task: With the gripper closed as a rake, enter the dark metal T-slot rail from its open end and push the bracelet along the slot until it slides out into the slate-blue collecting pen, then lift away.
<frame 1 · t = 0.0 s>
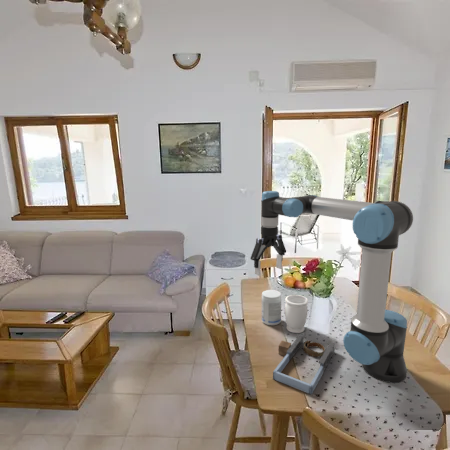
hand: (268, 271, 146), 28 cm above the table, fingers open, 13 cm apart
supplement tub: (271, 321, 157), on the table
tray: (298, 376, 117), on the table
jar: (295, 329, 150), on the table
bracelet: (314, 352, 133), on the table
brown wooden cube: (284, 352, 132), on the table
slot rail: (310, 355, 129), on the table
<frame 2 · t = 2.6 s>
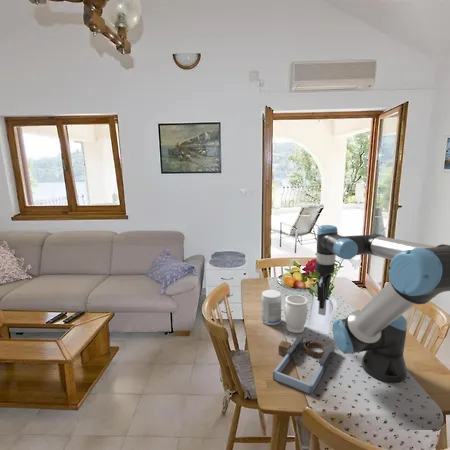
hand: (321, 314, 137), 13 cm above the table, fingers closed
nothing on the table moved.
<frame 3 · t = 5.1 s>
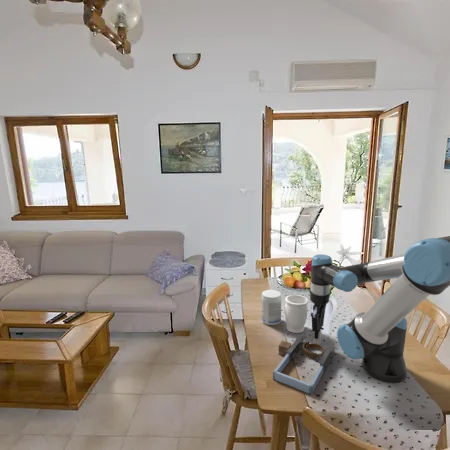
hand: (316, 343, 135), 1 cm above the table, fingers closed
bracelet: (312, 353, 131), on the table, touching gripper
everything else where it was.
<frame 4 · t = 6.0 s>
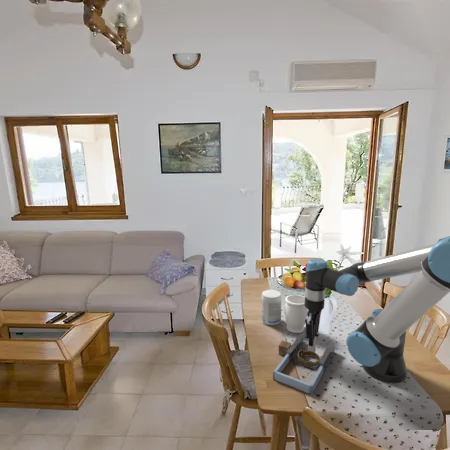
hand: (311, 351, 130), 2 cm above the table, fingers closed
bracelet: (308, 361, 126), on the table, touching gripper
everything else where it was.
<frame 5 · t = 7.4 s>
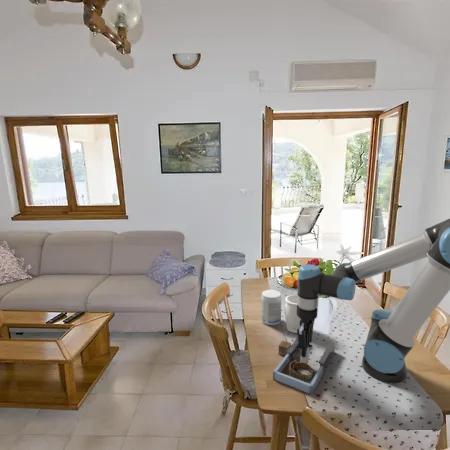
hand: (304, 362, 123), 2 cm above the table, fingers closed
bracelet: (300, 374, 119), on the table, touching gripper
everything else where it was.
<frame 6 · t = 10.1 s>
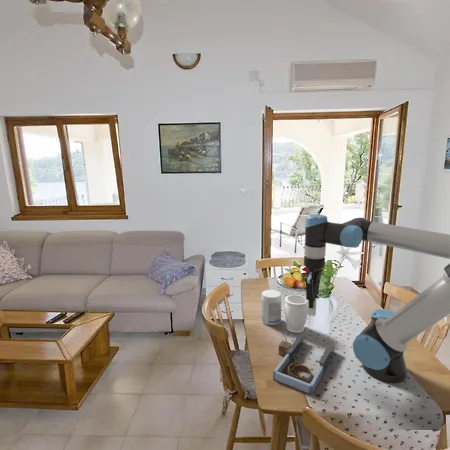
hand: (311, 314, 123), 19 cm above the table, fingers closed
bracelet: (299, 376, 118), on the table
everything else where it was.
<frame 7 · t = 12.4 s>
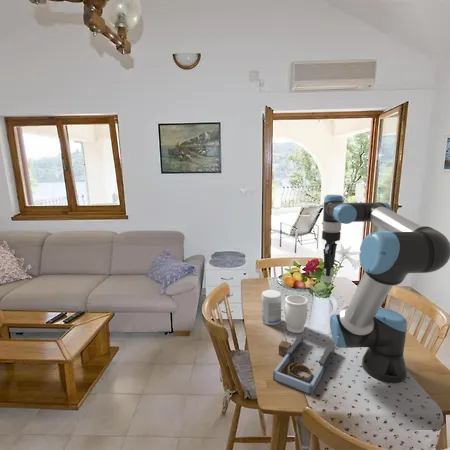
hand: (328, 281, 142), 24 cm above the table, fingers closed
nothing on the table moved.
at the end: bracelet 0.7 cm from the tray (horizontally); bracelet on the table; bracelet moved 17.9 cm from its start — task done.
